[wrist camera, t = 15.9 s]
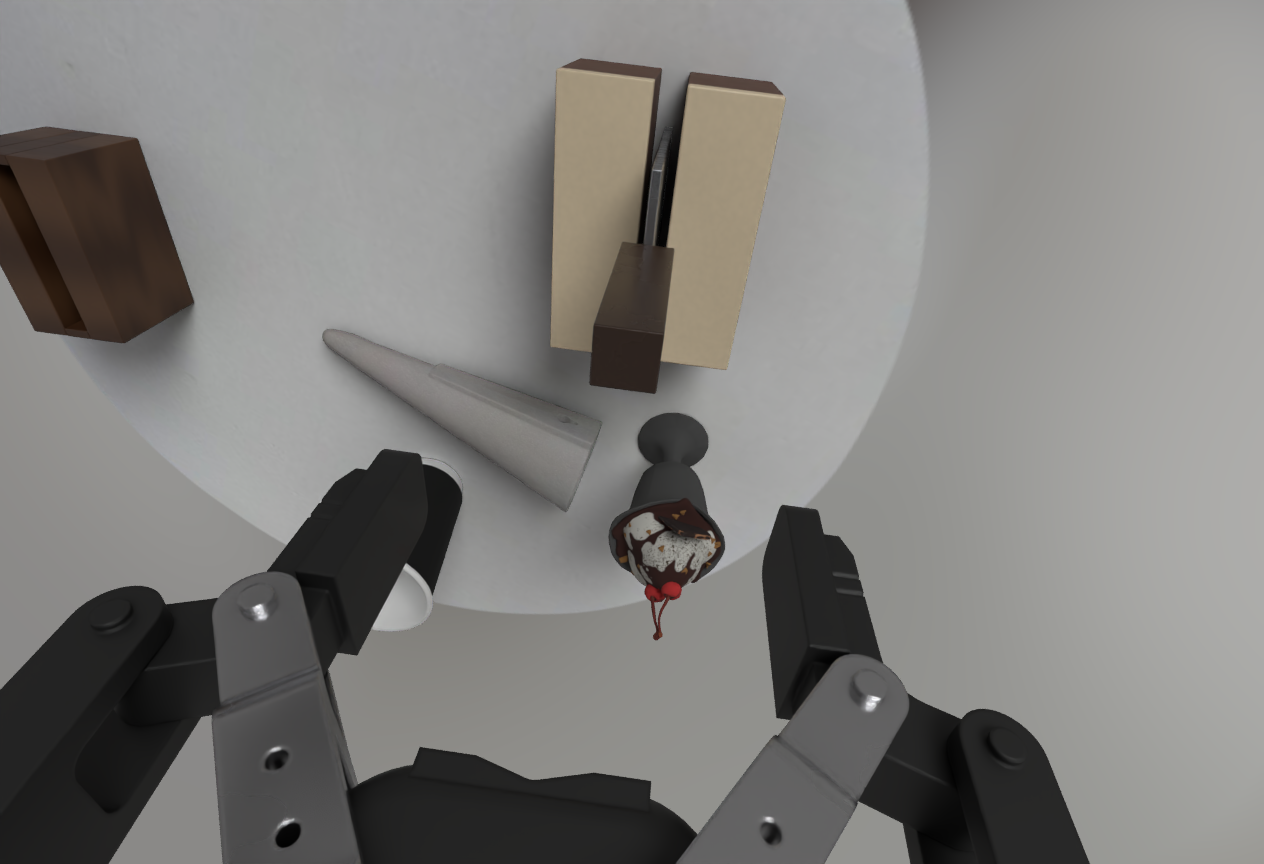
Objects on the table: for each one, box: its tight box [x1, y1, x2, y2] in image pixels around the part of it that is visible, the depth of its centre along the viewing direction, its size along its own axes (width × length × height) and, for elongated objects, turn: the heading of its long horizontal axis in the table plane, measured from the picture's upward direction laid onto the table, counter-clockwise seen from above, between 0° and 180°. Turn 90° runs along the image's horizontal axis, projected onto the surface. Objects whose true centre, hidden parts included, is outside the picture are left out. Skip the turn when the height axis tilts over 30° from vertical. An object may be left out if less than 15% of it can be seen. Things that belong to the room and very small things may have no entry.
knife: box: [589, 127, 675, 394], centre depth 26 cm, size 8×2×18 cm, turn 174°
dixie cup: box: [371, 458, 463, 632], centre depth 43 cm, size 8×8×11 cm
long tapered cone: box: [322, 329, 602, 512], centre depth 41 cm, size 6×6×19 cm
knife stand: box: [0, 127, 194, 343], centre depth 35 cm, size 10×5×6 cm, turn 174°
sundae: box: [609, 413, 725, 640], centre depth 37 cm, size 7×7×15 cm
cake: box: [550, 58, 786, 370], centre depth 31 cm, size 13×10×6 cm
